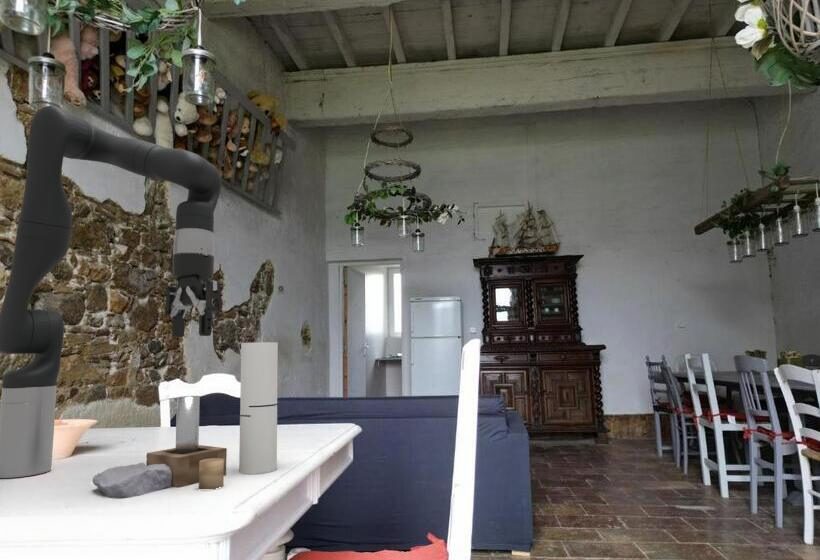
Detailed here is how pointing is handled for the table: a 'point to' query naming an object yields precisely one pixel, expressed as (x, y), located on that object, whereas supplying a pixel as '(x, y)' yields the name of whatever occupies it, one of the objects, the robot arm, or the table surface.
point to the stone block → (133, 480)
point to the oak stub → (211, 473)
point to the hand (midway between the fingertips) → (191, 336)
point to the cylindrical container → (258, 408)
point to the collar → (186, 463)
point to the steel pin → (187, 424)
